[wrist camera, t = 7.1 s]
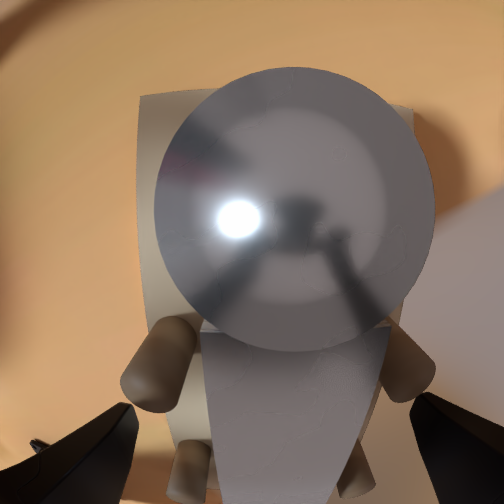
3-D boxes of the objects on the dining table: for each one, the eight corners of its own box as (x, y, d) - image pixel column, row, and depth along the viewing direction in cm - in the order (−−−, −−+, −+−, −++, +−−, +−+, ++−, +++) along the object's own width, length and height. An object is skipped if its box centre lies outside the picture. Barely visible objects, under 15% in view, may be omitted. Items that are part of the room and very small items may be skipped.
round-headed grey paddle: (309, 476, 11) (320, 533, 7) (221, 479, 11) (216, 537, 7) (357, 129, 8) (430, 93, 4) (199, 122, 8) (158, 71, 4)
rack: (338, 472, 12) (351, 519, 9) (190, 476, 12) (181, 525, 8) (402, 114, 8) (467, 87, 4) (148, 102, 8) (95, 61, 4)
